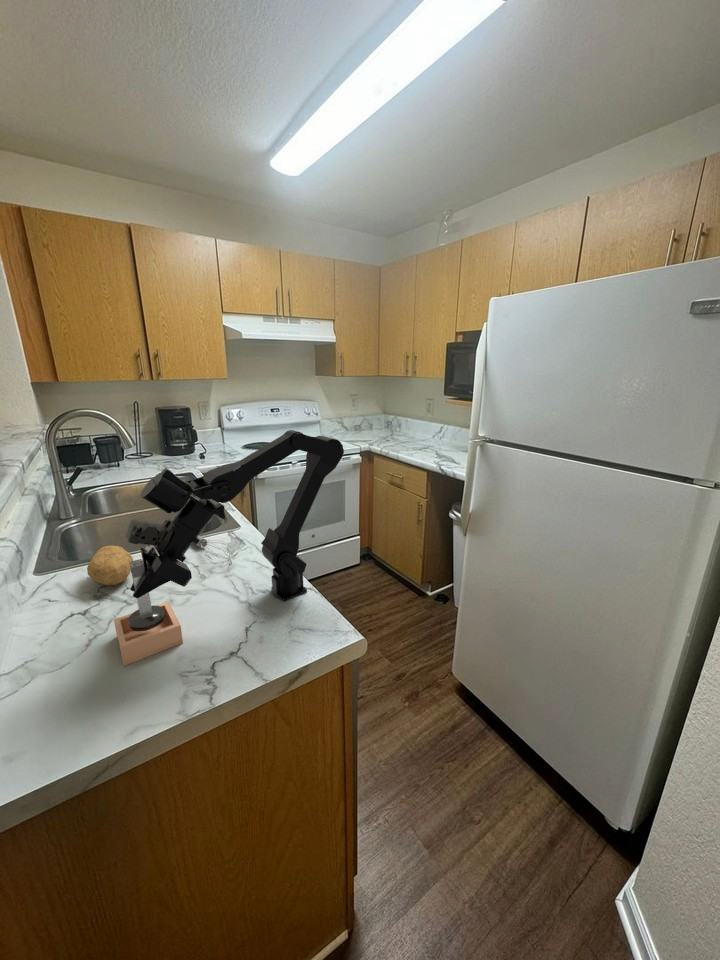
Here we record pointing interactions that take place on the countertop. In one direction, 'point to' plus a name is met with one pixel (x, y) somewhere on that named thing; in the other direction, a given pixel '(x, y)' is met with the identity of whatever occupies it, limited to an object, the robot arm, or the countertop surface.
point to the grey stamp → (143, 604)
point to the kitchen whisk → (203, 543)
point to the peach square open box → (148, 636)
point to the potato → (110, 565)
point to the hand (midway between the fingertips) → (133, 593)
